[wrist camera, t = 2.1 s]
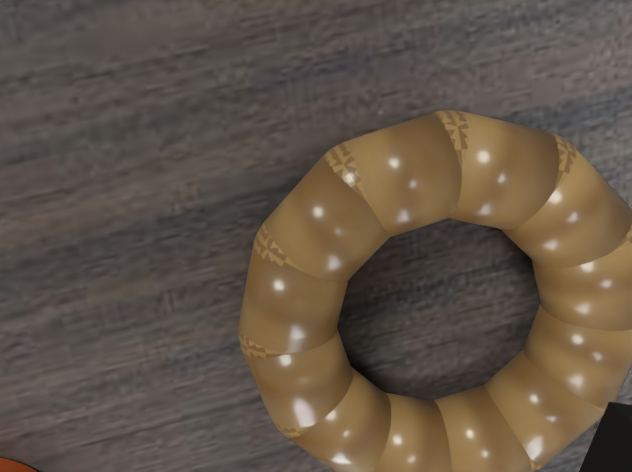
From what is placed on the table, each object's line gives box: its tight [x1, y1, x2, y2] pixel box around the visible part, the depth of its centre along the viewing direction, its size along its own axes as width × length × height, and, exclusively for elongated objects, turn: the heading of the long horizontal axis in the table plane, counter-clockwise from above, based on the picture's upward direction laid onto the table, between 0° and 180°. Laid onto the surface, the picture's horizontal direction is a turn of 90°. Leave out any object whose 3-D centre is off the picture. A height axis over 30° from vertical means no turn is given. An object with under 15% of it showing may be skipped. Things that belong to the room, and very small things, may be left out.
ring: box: [238, 110, 632, 472], centre depth 16 cm, size 12×12×3 cm
